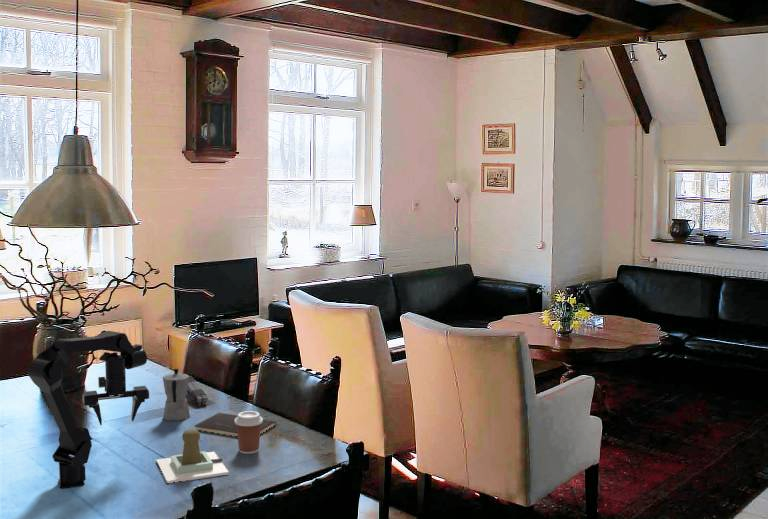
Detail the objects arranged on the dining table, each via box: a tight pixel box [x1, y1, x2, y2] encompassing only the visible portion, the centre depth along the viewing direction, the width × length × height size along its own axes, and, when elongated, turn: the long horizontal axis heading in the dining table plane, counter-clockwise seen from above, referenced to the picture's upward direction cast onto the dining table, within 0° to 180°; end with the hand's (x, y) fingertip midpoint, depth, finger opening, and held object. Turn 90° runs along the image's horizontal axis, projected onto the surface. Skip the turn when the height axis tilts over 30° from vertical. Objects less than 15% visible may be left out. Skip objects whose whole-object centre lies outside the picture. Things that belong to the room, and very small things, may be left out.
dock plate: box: [155, 450, 230, 484], centre depth 246 cm, size 18×18×3 cm
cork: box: [181, 428, 201, 466], centre depth 245 cm, size 6×6×11 cm
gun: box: [186, 375, 209, 406], centre depth 315 cm, size 4×20×10 cm, turn 32°
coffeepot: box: [162, 368, 191, 422], centre depth 291 cm, size 15×9×18 cm, turn 9°
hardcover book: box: [193, 412, 277, 437], centre depth 283 cm, size 16×23×2 cm
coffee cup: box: [234, 410, 263, 455], centre depth 261 cm, size 9×9×12 cm
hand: (116, 422), depth 246 cm, fingers open, 9 cm apart
